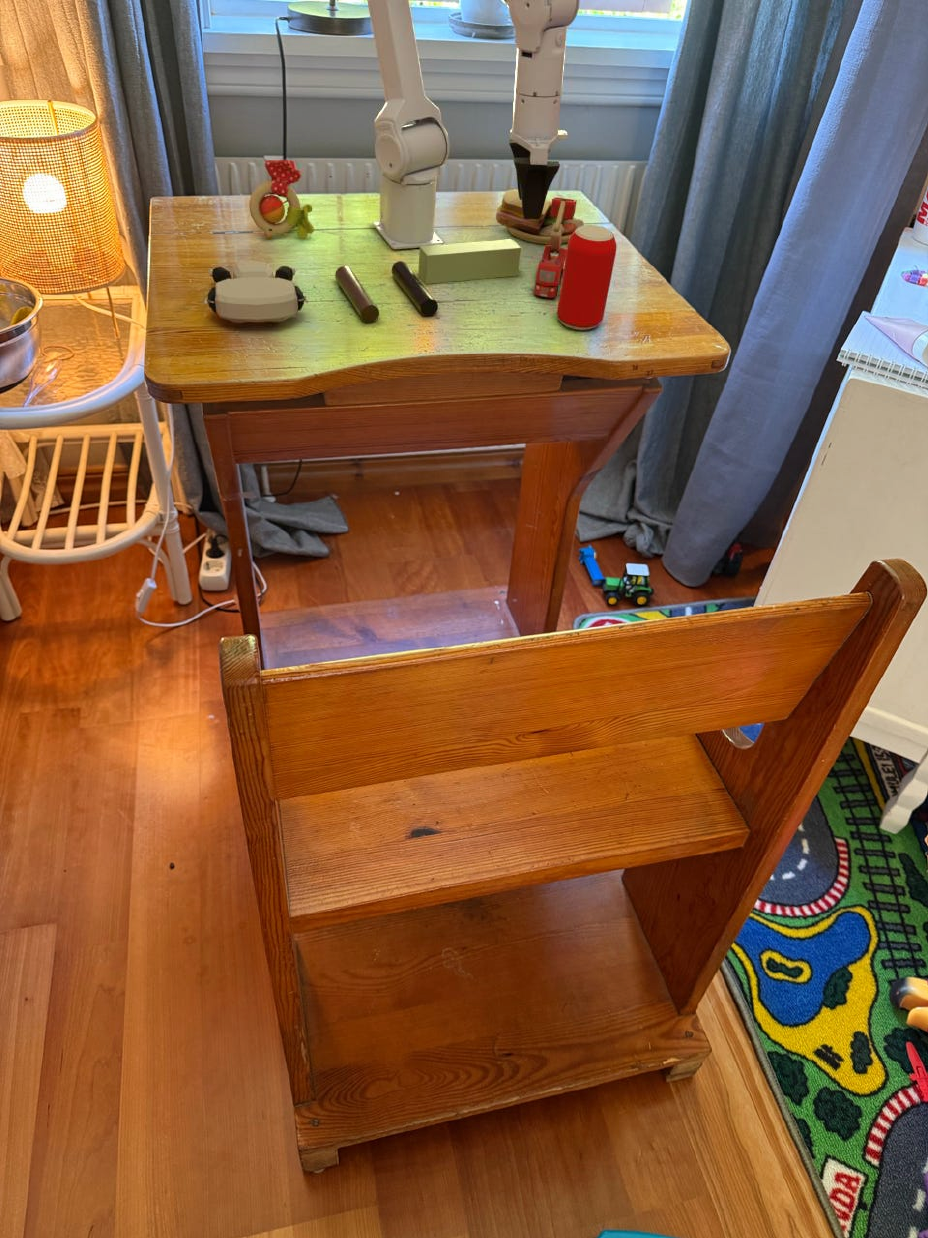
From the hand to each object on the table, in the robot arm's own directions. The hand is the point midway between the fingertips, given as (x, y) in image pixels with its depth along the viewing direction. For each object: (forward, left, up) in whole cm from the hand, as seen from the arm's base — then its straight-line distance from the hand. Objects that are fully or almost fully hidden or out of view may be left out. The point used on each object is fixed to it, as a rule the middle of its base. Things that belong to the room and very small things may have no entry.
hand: (529, 208), depth 121 cm
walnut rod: (0, -24, -11) cm, 26 cm away
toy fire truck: (-1, +5, -11) cm, 12 cm away
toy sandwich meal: (-18, +11, -11) cm, 24 cm away
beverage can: (+12, +3, -11) cm, 16 cm away
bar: (-5, -6, -11) cm, 13 cm away
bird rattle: (-23, -28, -11) cm, 38 cm away
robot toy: (-1, -37, -11) cm, 38 cm away
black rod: (0, -16, -11) cm, 19 cm away
